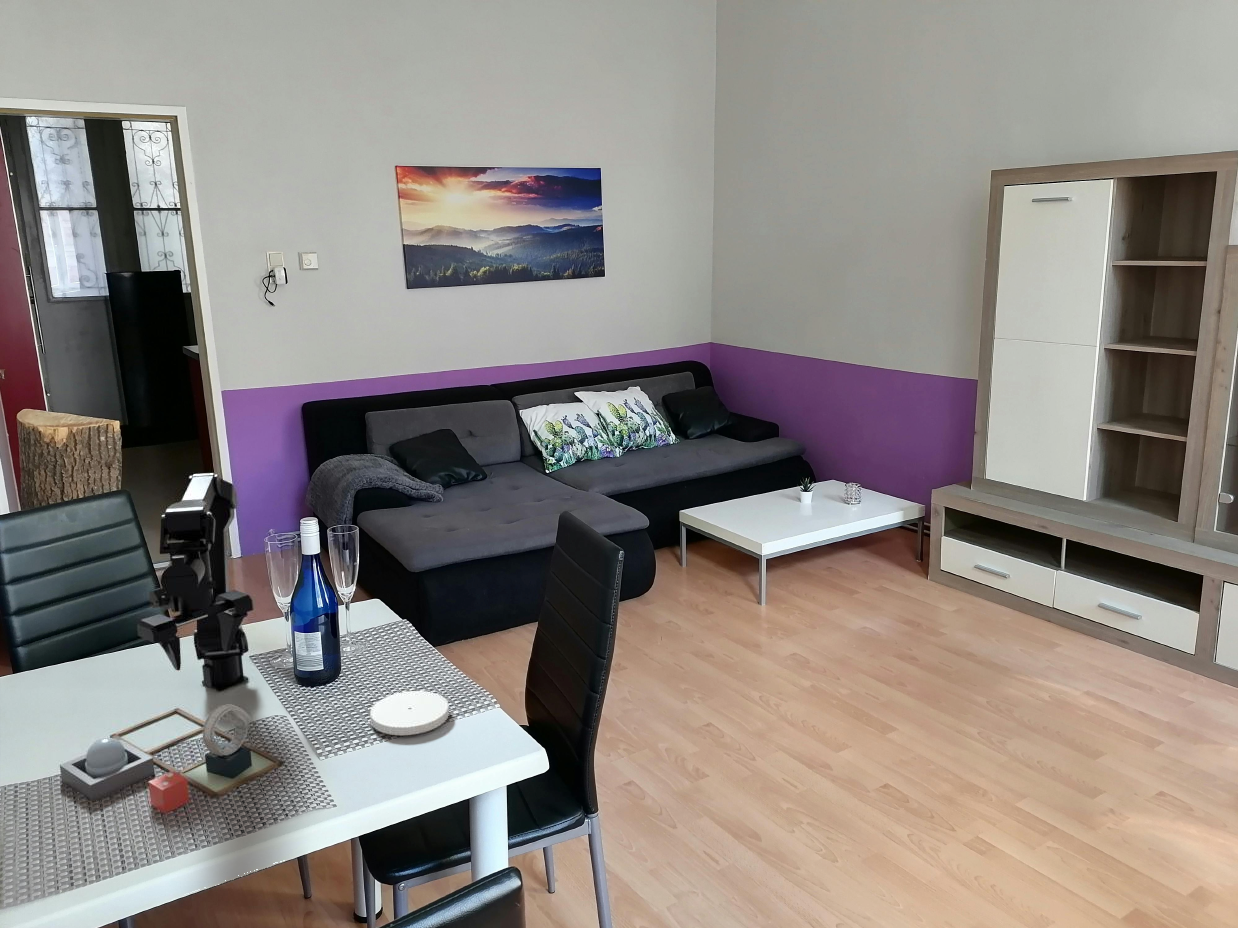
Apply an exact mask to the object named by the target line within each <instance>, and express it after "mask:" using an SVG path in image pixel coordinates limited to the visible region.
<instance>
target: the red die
mask: <svg viewBox="0 0 1238 928" xmlns="http://www.w3.org/2000/svg"><path fill="white" fill-rule="evenodd" d="M147 783H148V790H149V791H148V792H149V797H150V805H151V806H152V807H154V808H155V809H157V810H159V811H160V812H162V813H164V814H168V813H169V812H172V811H174V810H175V809H177V808H179V807H181V806H183V805H185V804H187V803H189V802H191V801H190V794H189V793H190V792H189V783H188V782H187V778H185V777H184V776H182V775H180V774H179V773H177V772H175V771H170V772H168V771H167V772H166V773H164V774H162V775H159V776H158V777H155V778H153V779H150V780H149V781H148V782H147Z"/></svg>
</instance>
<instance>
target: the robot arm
mask: <svg viewBox="0 0 1238 928" xmlns="http://www.w3.org/2000/svg"><path fill="white" fill-rule="evenodd" d="M186 488H187V489H186V490H185V492H184V494H183V496H182V498H181V500H180V501H179V502H175V503H172V504H170V505H169V506H168V507H167V508H166V509H165V511H164V514H162V515H161V519H160V535H159V536H160V537H159V538H160V539H159V554H160V555H165V554H169V556H170V557H169V563H168V565H167V566H166V568H165V570H163V572H162V574H161V577H160V584H161V587H160V588H156V589H153V590H149V602H150V605H151V607H152V608H153V609H158V608H162V611H163V612H165V611H167V610H170V611H171V612H172V613H178V614H177V615H174V616H171V617H168V616H166V615H164V614H160V613H159V614H155V615H152V616H149V617H146V618H142V619H140V620H139V622H138V624H137V627H136V629H137V636H138V637H140V638H142V639H145V640H147V641H149V642H152V643H153V644H154V643H156V644H159V645H160V646H161V648H162V650H163V651H164V652H165V653H166V656H167V658H168V659H169V661H170V664H172V667H173V668H174V670H176V671H181V664H182V657H181V638H180V636H177V635H176V634H178V628H179V627H182V626H185V625H188V624H191V623H194V622H196V629H195V630H194V632H193V645H194V649H195V653H196V658H197V661H201V660H203V664H202V666H201V668H202V677H203V680H201V684H202V685H203V686H205V687H208V688H211V689H213V690H215V691H217V692H224V691H225V690H229V689H230V688H231V689H232V688H233V687H236V686H238V685H241V684H243V683H245V682H247V681H249V677H248V676H247V675H244V668H243V667H244V666H243V656H244V654H246V653H248V652H249V651H250V650H249V642H248V639H247V635H246V633H245V631H244V629H243V626H242V625H241V624H242V622H243V620H244V619H245V618H247V617H248V616H249V615H248V613H249V612H252V611H253V610H254V609H255V608H254V607H255V606H254V599H253V598H252V596H251V595H249V594H247V593H244V592H242V591H239V590H236V589H234V590H230V584H229V563H228V562H229V558H228V537H227V535H228V533H227V531H228V529H229V528H230V526H231V525H232V523H233V521H234V520H235V509H237V508H238V495H237V491H236V488H235V487H234V483H231V482H229V481H227V480H225V479H223V478H221V477H220V474H218V473H215V472H206V473H204V472H203V473H194V474H193V475H189V477H188V485H187V487H186Z"/></svg>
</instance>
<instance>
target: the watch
mask: <svg viewBox="0 0 1238 928" xmlns="http://www.w3.org/2000/svg"><path fill="white" fill-rule="evenodd" d="M221 718H223V719H224V720H225V721H226V722H228V723H229V724H231V726H232V727H234V729H235V731H234V733H233V735H232V736H233V737H232V740H231V741H230V740H229V741H230V742H229V743H228V742H226V741H225V742H223V743H221V744H220V745H219V743H218V741H217V740H216V738H215V735H214V734H215V732H214V730H215V727H216V728H217V725H218V723H219V721H220V719H221ZM251 720H252V719H251V716H250V715H249V714H248V713H247V712H246V711H245V710H244V709H242V708H241V707H239V706H237V705H234V704H231V703H230V704H229V703H226V704H224V705H222V704H220V705H218V706H217V707H215V708H214V709H213V710H211V712H209V714H208V715H207V717H206V720H204V721H205V724H204V725H205V726H204V727H203V726H202V727H203V732H202V742H203V744H204V746H205V748H206V749H207V750H208V751H209V752H207V753H205V754H204V760H205V761H206V770H207V772H209V773H212V774H216V775H220V776H224V777H228V778H232V779H233V778H235V777H236V776H238V775H239V774H241V773H242V772H244V771H245V770H246V769H248V768H249V767H251V766H252V760H251V750H250V748H246V747H241V745H242V743H243V742H245V740H246V737H247V734H248V731H249V729H250V722H251ZM213 727H214V728H213ZM208 728H209V729H208Z"/></svg>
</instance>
